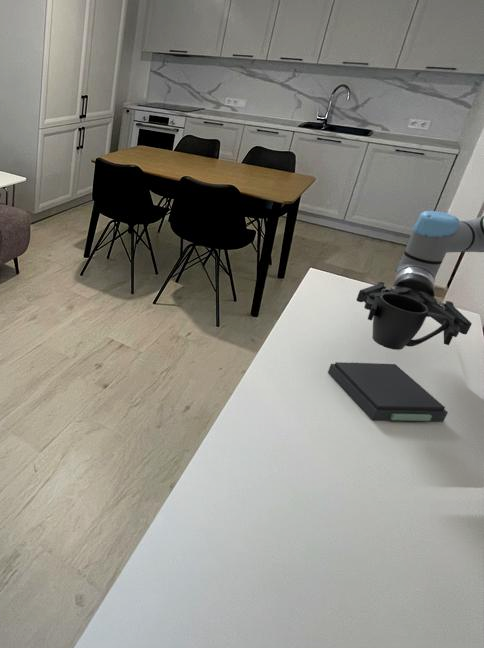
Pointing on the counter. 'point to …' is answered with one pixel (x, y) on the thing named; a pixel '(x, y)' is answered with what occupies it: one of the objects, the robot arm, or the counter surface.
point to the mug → (401, 321)
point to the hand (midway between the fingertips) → (409, 326)
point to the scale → (386, 392)
